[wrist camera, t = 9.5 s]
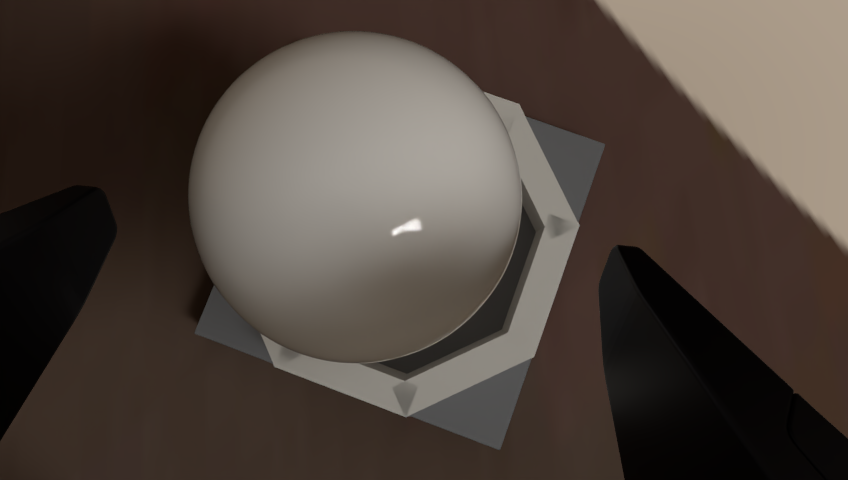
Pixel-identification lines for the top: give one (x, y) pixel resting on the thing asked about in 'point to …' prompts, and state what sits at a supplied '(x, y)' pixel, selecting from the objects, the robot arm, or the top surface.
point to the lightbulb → (354, 197)
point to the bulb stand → (489, 327)
